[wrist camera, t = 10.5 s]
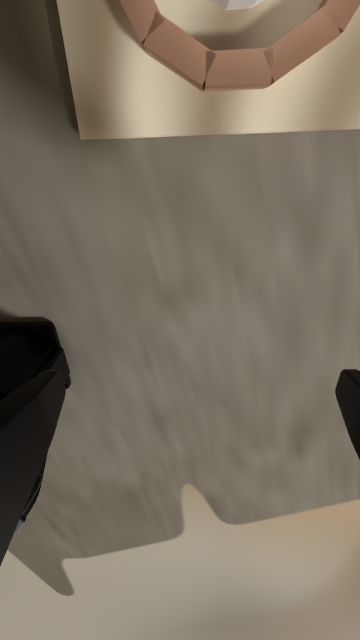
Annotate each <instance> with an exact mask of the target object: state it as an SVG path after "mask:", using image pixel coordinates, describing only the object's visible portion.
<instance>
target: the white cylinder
mask: <svg viewBox="0 0 360 640" xmlns="http://www.w3.org/2000/svg"><path fill="white" fill-rule="evenodd" d="M206 1H208V2H210V3H212V4H214V5H216V6H218V7H220V8H222V9H225V10H235V9H245V8H252V7H254V6H255V5H257V4H258V3H260V2H261V1H263V0H206Z"/></svg>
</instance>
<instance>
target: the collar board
mask: <svg viewBox="0 0 360 640" xmlns="http://www.w3.org/2000/svg"><path fill="white" fill-rule="evenodd" d="M57 6H58V12H59V18H60V23H61V29H62V35H63V41H64V47H65V52H66V58H67V64H68V70H69V76H70V81H71V87H72V93H73V99H74V105H75V110H76V116H77V122H78V128H79V134H80V139H81V140H100V139H127V138H153V137H179V136H205V135H231V134H257V133H283V132H310V131H336V130H360V0H263V1H261V2H260V3H258V4H257V5H255V6H254V7H252V8H245V9H235V10H225V9H222V8H220V7H218V6H216V5H214V4H212V3H210V2H208V1H206V0H57Z"/></svg>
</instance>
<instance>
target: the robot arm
mask: <svg viewBox="0 0 360 640" xmlns="http://www.w3.org/2000/svg"><path fill="white" fill-rule="evenodd" d="M46 328H48V329H50V331H49V330H47V329H46ZM69 373H70V371H69V367H68V364H67V360H66V357H65V353H64V350H63V348H62V347H61V345H60V342H59V338H58V335H57V331H56V328H55V326H54V325H53V324H52V323H49V322H27V323H0V566H1V563H2V561H3V558H4V556H5V554H6V551H7V549H8V546H9V544H10V542H11V539H12V537H13V534H14V533H15V532H16V531H17V529H18V528H19V527H20V526H21V525H22V524H23V523H24V521H25V520H26V516H27V515H28V513H29V512H30V510H31V508H32V507H33V505H34V503H35V501H36V499H37V497H38V495H39V491H40V488H41V483H42V478H43V473H44V468H45V463H46V458H47V453H48V449H49V447H50V444H51V441H52V439H53V436H54V433H55V429H56V426H57V422H58V419H59V415H60V412H61V408H62V405H63V402H64V398H65V393H66V390H65V389H68V388H69V386H70V384H71V380H70V376H69ZM64 383H66V384H64ZM335 394H336V398H337V401H338V404H339V407H340V410H341V413H342V416H343V419H344V422H345V425H346V428H347V431H348V434H349V436H350V439H351V442H352V444H353V446H354V448H355V451H356V453H357V455H358V457H359V459H360V371H359V370H356V369H344V370H342V371H341V373H340V376H339V380H338V383H337V386H336V390H335Z"/></svg>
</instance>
